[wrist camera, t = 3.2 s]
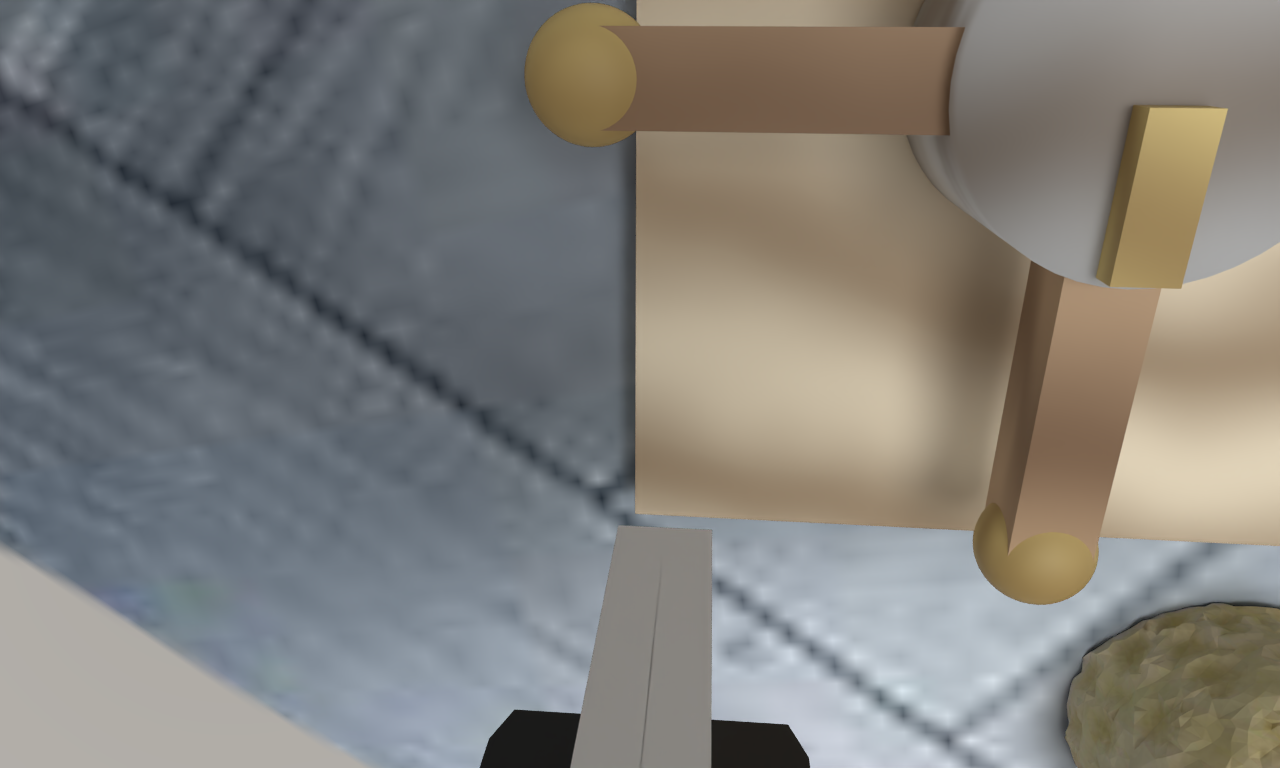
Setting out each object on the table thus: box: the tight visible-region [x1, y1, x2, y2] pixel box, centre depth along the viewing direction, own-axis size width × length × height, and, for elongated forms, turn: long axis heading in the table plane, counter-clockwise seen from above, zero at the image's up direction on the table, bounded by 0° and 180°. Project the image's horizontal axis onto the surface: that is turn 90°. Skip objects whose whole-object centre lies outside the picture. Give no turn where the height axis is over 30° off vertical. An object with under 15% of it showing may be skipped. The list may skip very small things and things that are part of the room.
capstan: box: [524, 0, 1280, 605], centre depth 16 cm, size 23×23×6 cm
